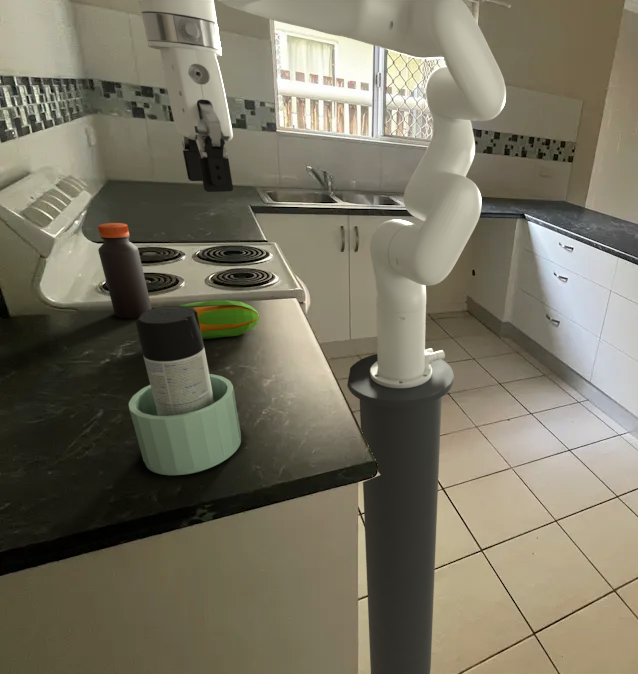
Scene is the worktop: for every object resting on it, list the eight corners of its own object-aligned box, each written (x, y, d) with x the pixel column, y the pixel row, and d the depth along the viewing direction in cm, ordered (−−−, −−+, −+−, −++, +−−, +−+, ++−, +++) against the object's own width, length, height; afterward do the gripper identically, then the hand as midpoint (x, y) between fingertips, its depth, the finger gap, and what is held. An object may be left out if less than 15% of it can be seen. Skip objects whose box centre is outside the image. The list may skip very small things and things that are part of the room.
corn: (256, 303, 99) (139, 311, 91) (260, 337, 102) (147, 347, 93) (256, 294, 105) (146, 300, 97) (260, 326, 108) (154, 335, 99)
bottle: (156, 314, 108) (136, 227, 100) (119, 321, 103) (95, 229, 95) (147, 306, 112) (127, 221, 104) (111, 312, 107) (88, 223, 99)
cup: (230, 416, 76) (222, 366, 72) (250, 455, 68) (242, 401, 64) (139, 440, 68) (124, 386, 65) (149, 487, 60) (133, 429, 57)
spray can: (227, 428, 72) (205, 304, 64) (212, 456, 66) (185, 324, 58) (177, 430, 70) (148, 304, 62) (157, 459, 64) (122, 323, 56)
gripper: (238, 38, 53) (259, 195, 60) (203, 46, 65) (224, 176, 72) (157, 26, 49) (191, 197, 56) (135, 37, 60) (165, 177, 67)
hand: (210, 185), depth 64 cm, fingers open, 9 cm apart
